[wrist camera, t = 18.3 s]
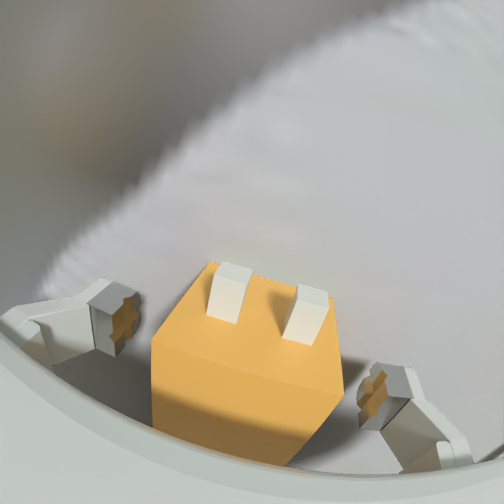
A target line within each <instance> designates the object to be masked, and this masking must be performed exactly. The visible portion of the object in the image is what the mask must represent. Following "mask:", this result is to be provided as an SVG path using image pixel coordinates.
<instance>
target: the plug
mask: <svg viewBox="0 0 504 504" xmlns="http://www.w3.org/2000/svg"><path fill="white" fill-rule="evenodd" d="M252 272H253V270H252V269H248V268H245V267H242V266H238V265H235V264H232V263H229V262H225V261H223V262H222V263H221V265H220V264H217V263H213V262H209V264H208V265H207V266H206V268H205V269H204V270H203V271H202V273H201V274H200V275H199V277H198V278H197V279H196V281H195V282H194V283H193V284H192V286H191V287H190V288H189V290H188V291H187V292H186V294H185V295H184V296H183V298H182V299H181V300H180V301H179V303H178V304H177V305H176V307H175V308H174V309H173V311H172V312H171V313H170V315H169V316H168V317H167V319H166V320H165V321H164V323H163V324H162V325H161V327H160V328H159V329H158V331H157V332H156V333H155V335H154V336H153V338H152V341H151V400H152V424H153V428H154V429H156V430H159V431H161V432H164V433H166V434H169V435H171V436H174V437H177V438H179V439H182V440H185V441H188V442H190V443H193V444H196V445H199V446H202V447H205V448H209V449H212V450H215V451H218V452H222V453H225V454H229V455H233V456H237V457H240V458H245V459H249V460H253V461H258V462H262V463H267V464H272V465H277V466H283V467H284V466H285V465H286V464H287V463H288V462H289V461H290V460H291V459H292V458H293V457H294V456H295V455H296V453H297V452H298V451H299V450H300V449H301V448H302V447H303V446H304V445H305V443H306V442H307V441H308V440H309V439H310V438H311V437H312V435H313V434H314V433H315V432H316V431H317V429H318V428H319V427H320V426H321V425H322V423H323V422H324V421H325V420H326V418H327V417H328V416H329V415H330V413H331V412H332V411H333V409H334V408H335V407H336V406H337V404H338V403H339V402H340V400H341V399H342V397H343V396H344V386H343V376H342V366H341V356H340V348H339V339H338V332H337V324H336V317H335V310H334V303H333V298H331V297H328V293H327V292H326V291H323V290H319V289H316V288H313V287H309V286H306V285H302V284H299V283H298V285H297V288H296V287H293V286H290V285H286V284H283V283H279V282H276V281H273V280H269V279H266V278H263V277H259V276H256V275H253V274H252Z"/></svg>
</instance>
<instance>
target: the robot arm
mask: <svg viewBox="0 0 504 504" xmlns="http://www.w3.org/2000/svg"><path fill="white" fill-rule="evenodd" d="M140 303H141V295H140V294H139V292H137V291H135V290H132V289H130V288H128V287H125V286H123V285H121V284H118V283H116V282H114V281H111V280H109V279H107V278H99V279H98V280H97V281H95V282H94V283H93V284H91V285H90V286H89V287H87V288H86V289H85V290H84V291H82V292H81V293H80V294H78V295H77V296H76V297H72V296H69V297H63V298H58V299H53V300H47V301H42V302H36V303H31V304H25V305H20V306H15V307H13V308H12V309H10V310H9V311H8V312H6V313H5V314H4V315H2V316H1V317H0V504H504V457H501V458H497V459H494V460H490V461H486V462H482V463H477V464H474V462H473V458H472V455H471V451H470V448H469V445H468V442H467V439H466V438H465V437H464V435H463V434H462V433H461V432H460V431H459V430H458V429H457V428H456V427H455V426H454V425H453V424H452V423H451V422H450V421H449V420H448V419H447V418H446V417H445V416H444V415H443V414H442V413H441V412H440V411H439V410H438V409H437V408H436V407H435V406H434V405H433V404H432V403H431V402H430V401H428V400H425V397H424V394H423V391H422V388H421V385H420V382H419V379H418V377H417V374H416V371H415V370H414V369H413V368H411V367H404V366H395V365H390V364H384V363H379V362H376V363H375V364H374V365H373V366H372V368H371V369H370V376H368V377H366V378H364V379H363V381H362V382H361V384H360V385H359V388H358V391H357V397H356V400H357V405H358V406H359V407H360V408H361V411H360V412H359V413H358V418H359V428H360V429H366V430H374V431H381V432H380V433H381V435H382V436H383V438H384V439H385V441H386V442H387V444H388V446H389V447H390V449H391V450H392V452H393V453H394V455H395V457H396V458H397V460H398V461H399V463H400V464H401V466H402V468H403V470H402V471H400V472H399V473H398V474H343V473H329V472H319V471H310V470H302V469H295V468H289V467H283V466H277V465H272V464H267V463H262V462H258V461H253V460H249V459H245V458H240V457H237V456H233V455H229V454H225V453H222V452H218V451H215V450H212V449H209V448H205V447H202V446H199V445H196V444H193V443H190V442H188V441H185V440H182V439H179V438H177V437H174V436H171V435H169V434H166V433H164V432H161V431H159V430H156V429H154V428H152V427H149V426H147V425H145V424H143V423H140V422H138V421H136V420H134V419H132V418H130V417H128V416H126V415H124V414H122V413H120V412H118V411H116V410H114V409H112V408H110V407H108V406H106V405H104V404H102V403H101V402H99V401H97V400H95V399H93V398H92V397H90V396H88V395H87V394H85V393H83V392H81V391H80V390H78V389H77V388H75V387H73V386H72V385H70V384H69V383H67V382H66V381H64V380H62V379H61V378H59V377H58V376H57V375H55V372H54V370H53V367H52V366H54V365H57V364H59V363H62V362H64V361H67V360H69V359H72V358H74V357H77V356H79V355H82V354H84V353H86V352H89V351H91V350H94V349H95V348H96V349H98V350H100V351H103V352H105V353H107V354H109V355H111V356H113V357H115V358H116V356H117V355H118V354H119V353H120V351H121V350H122V349H123V348H124V347H125V340H127V339H130V338H132V337H133V336H134V334H135V333H136V331H137V329H138V326H139V323H140V312H139V310H138V308H137V306H138V305H139V304H140Z"/></svg>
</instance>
